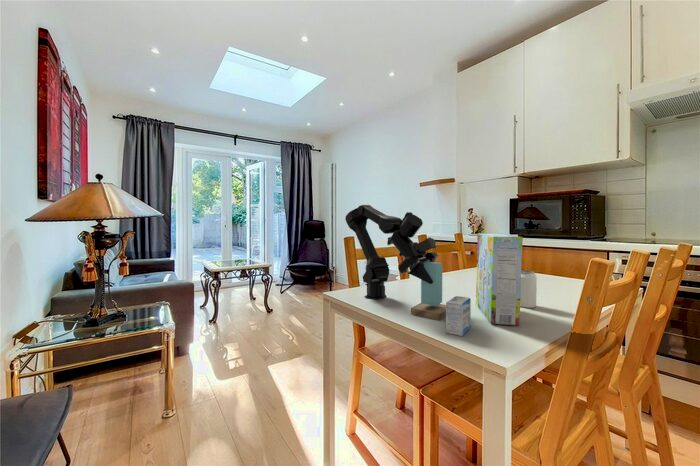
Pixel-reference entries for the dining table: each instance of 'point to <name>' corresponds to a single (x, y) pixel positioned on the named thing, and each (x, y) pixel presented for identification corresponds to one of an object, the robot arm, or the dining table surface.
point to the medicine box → (458, 315)
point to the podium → (429, 311)
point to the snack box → (499, 277)
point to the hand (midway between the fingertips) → (435, 281)
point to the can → (528, 289)
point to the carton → (433, 291)
